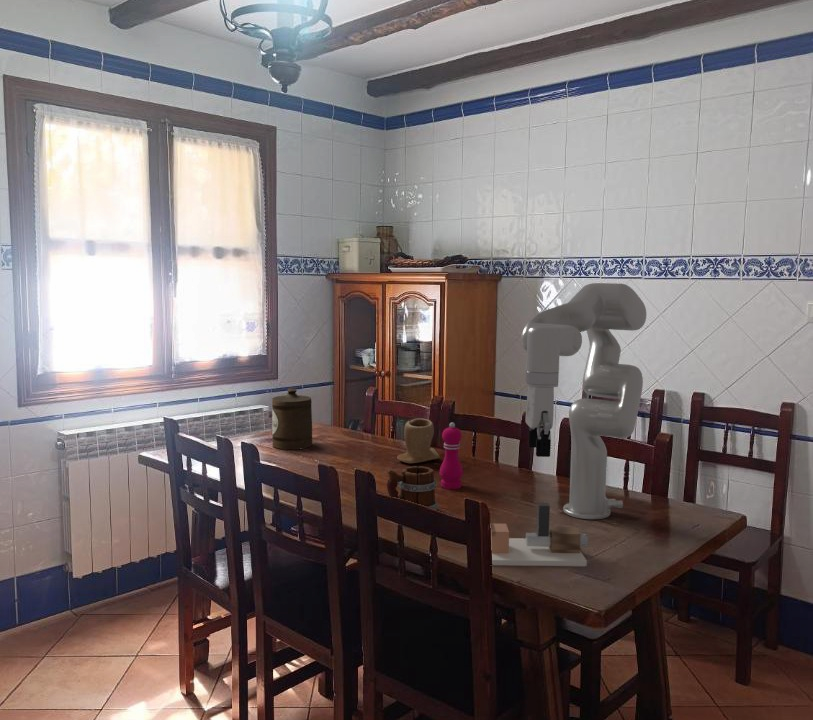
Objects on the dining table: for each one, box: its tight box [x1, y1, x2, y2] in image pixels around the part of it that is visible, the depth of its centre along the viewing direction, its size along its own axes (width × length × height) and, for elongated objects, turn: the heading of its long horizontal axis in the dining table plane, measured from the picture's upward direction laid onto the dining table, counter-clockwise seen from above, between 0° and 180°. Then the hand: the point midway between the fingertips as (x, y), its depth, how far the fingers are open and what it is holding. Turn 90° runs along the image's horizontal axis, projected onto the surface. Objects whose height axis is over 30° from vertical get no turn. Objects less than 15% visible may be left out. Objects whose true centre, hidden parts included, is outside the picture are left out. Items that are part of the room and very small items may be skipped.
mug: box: [386, 465, 439, 511], centre depth 202 cm, size 12×14×15 cm
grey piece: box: [525, 502, 589, 548], centre depth 173 cm, size 14×2×10 cm, turn 90°
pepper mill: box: [439, 422, 464, 490], centre depth 227 cm, size 7×7×20 cm
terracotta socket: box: [489, 522, 510, 553], centre depth 173 cm, size 4×6×5 cm
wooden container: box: [271, 387, 313, 450], centre depth 279 cm, size 15×15×22 cm
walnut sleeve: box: [549, 526, 581, 553], centre depth 173 cm, size 6×5×5 cm
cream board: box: [492, 537, 588, 567], centre depth 174 cm, size 22×14×1 cm, turn 90°
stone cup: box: [396, 417, 440, 464], centre depth 257 cm, size 15×12×15 cm
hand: (538, 451), depth 174 cm, fingers open, 9 cm apart
